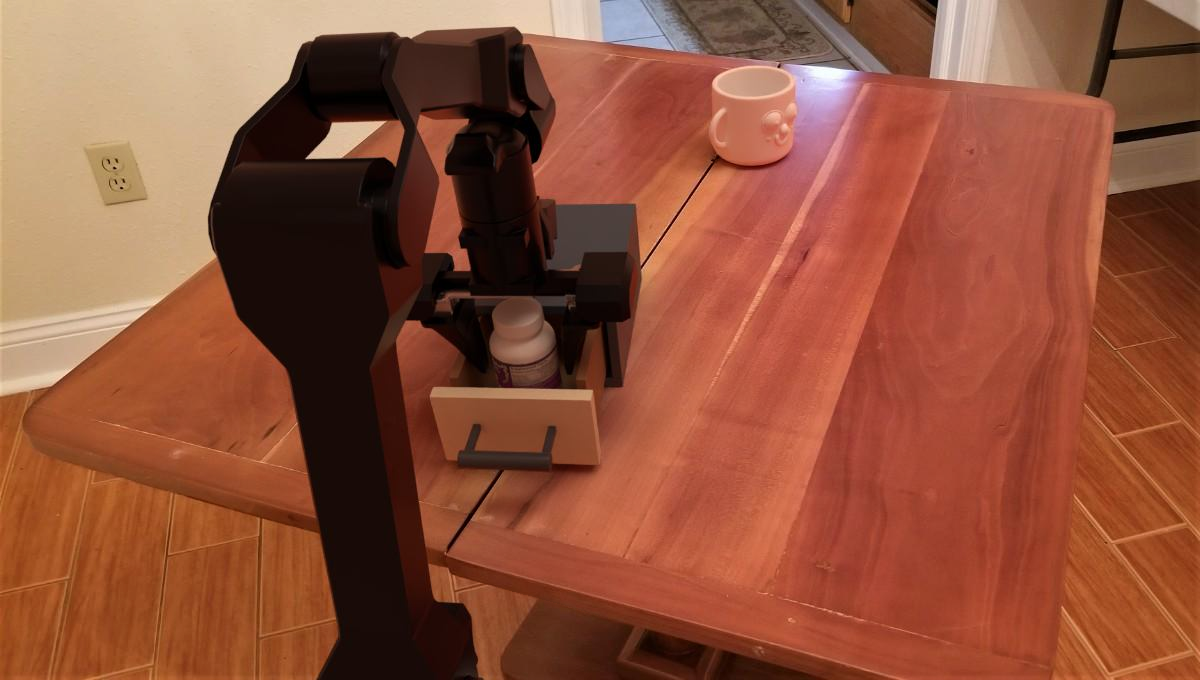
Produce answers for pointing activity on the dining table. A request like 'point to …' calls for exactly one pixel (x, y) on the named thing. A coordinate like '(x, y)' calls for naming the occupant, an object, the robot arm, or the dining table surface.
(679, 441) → the dining table surface
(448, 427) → the drawer
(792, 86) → the mug
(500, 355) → the pill bottle
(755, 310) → the dining table surface
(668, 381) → the dining table surface
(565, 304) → the cabinet
